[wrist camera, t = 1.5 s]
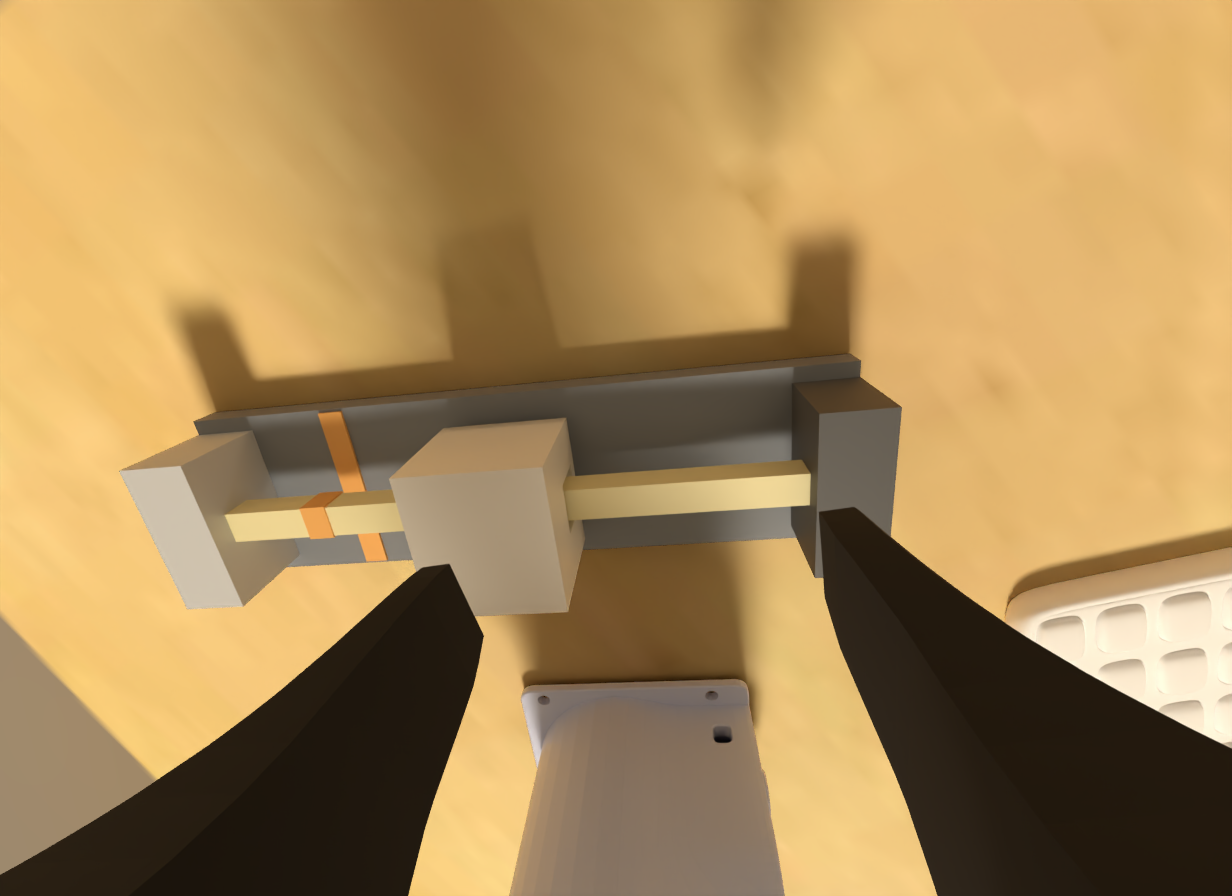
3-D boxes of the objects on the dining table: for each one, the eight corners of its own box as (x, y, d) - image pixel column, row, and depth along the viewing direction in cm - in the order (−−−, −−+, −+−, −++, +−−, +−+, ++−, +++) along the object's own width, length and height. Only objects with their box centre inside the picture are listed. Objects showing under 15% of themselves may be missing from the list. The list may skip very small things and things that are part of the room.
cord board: (850, 353, 17) (903, 387, 13) (841, 519, 19) (886, 588, 16) (215, 412, 19) (111, 455, 16) (272, 554, 22) (193, 621, 18)
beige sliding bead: (565, 417, 17) (542, 467, 13) (584, 539, 18) (567, 612, 15) (443, 427, 17) (388, 479, 14) (472, 546, 19) (429, 618, 15)
